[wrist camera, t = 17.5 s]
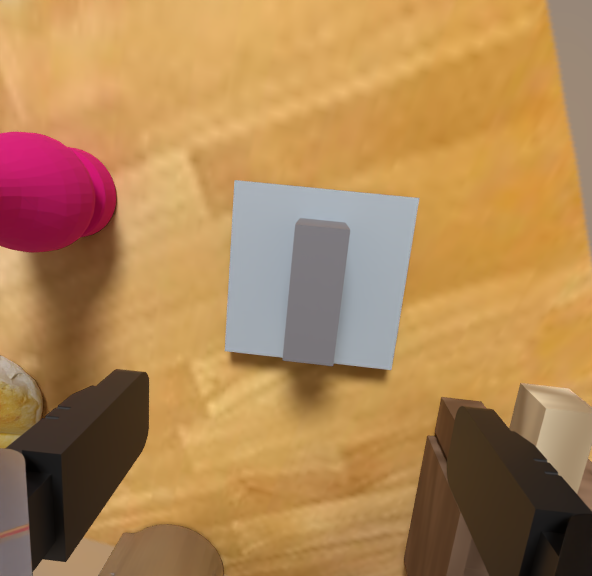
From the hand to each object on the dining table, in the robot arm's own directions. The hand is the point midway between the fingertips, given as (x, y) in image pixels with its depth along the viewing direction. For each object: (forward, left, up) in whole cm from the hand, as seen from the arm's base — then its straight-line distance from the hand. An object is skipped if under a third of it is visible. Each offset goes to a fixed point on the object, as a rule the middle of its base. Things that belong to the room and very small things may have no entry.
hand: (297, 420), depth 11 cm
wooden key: (+12, -6, -10) cm, 17 cm away
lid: (0, 0, -20) cm, 20 cm away
